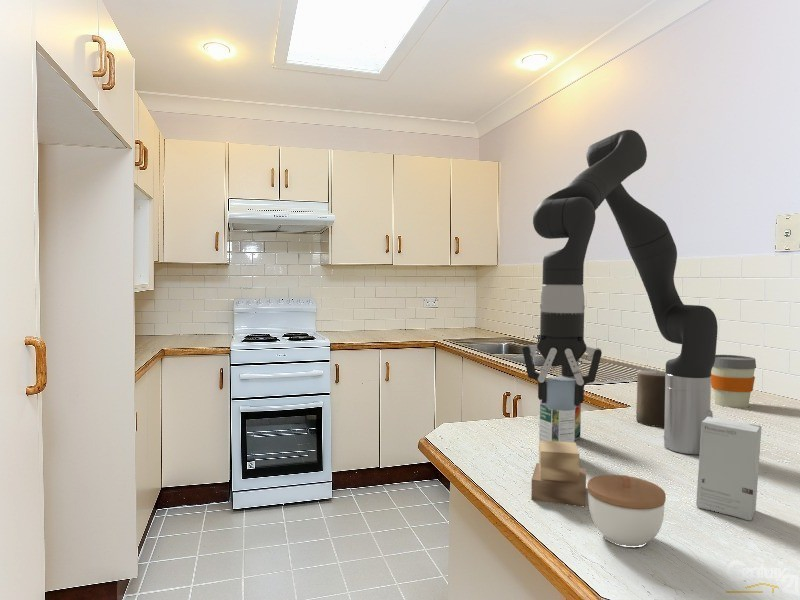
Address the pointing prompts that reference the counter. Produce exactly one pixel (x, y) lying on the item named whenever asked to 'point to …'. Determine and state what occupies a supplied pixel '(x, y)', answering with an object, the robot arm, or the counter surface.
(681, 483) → the counter surface
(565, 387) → the blue rounded cylinder
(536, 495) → the walnut slab
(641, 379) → the pillar candle
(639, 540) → the lidded jar
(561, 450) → the oak block
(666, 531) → the counter surface
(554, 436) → the syrup box
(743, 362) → the reusable coffee cup
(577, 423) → the lotion bottle
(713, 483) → the skincare box
